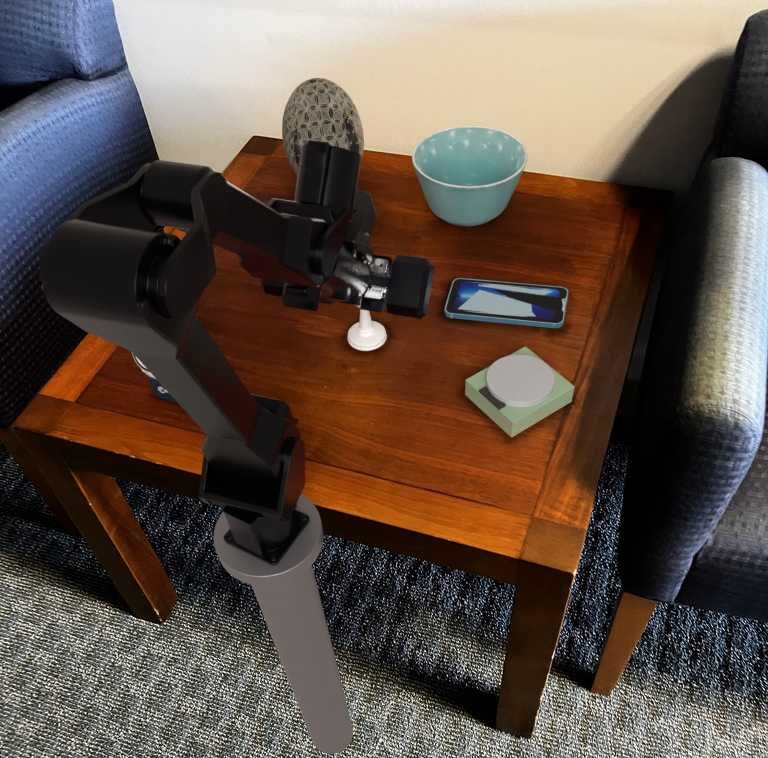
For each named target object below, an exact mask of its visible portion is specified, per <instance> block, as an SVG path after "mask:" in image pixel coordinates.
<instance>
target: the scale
mask: <svg viewBox="0 0 768 758" xmlns="http://www.w3.org/2000/svg"><path fill="white" fill-rule="evenodd" d="M574 392H575V385H574V384H572V383H571V381H569V380H567V379H566V378H565V377H564V376H563V375H561V374H560V373H559V372H558V371H556V369H554V367H551V366H550V365H549V364H548V363H547V362H546V361H544V360H543V359H542V358H540V357H539V356H538V355H537V354H536V353H534V352H533V351H532V350H531V349H530V348H529V347H527V346H523V347H521V348H520V349H518V350H516V351H514V352H513V353H510V354H509V355H506V356H503V357H501V358H498V359H497V360H495V361H494V362H492V363H491V365H489V366H487V367H486V368H484V369H482V370H479V372H476V373H475V374H473V375H472V376H470V377H468V378H466V379H465V383H464V395H465V396H466V397H467V398H468V400H470V401H471V402H472V403H473V404H474V405H475V406H476V407H477V408H479V410H480V411H481V412H483V413H484V414H485V415H486V416H487V417H488V418H489V419H490V420H491V421H493V422H494V423H495V424H496V425H497V426H498V427H499V428H501V430H503V431H504V433H506V434H507V435H508V436H509V437H510V438H514V437H516V436H517V435H518V434H521V433H522V432H523V431H525V430H526V429H529V428H530V427H532V426H534V425H536V424H537V423H538V422H540V421H542V420H543V419H545V418H547V417H548V416H550V415H552V414H553V413H555V412H557V411H558V410H560V409H562V408H564V407H565V406H567V405H569V404H570V403H572V402H573V398H574V397H573V396H574Z"/></svg>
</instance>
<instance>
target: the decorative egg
mask: <svg viewBox="0 0 768 758" xmlns="http://www.w3.org/2000/svg"><path fill="white" fill-rule="evenodd" d="M281 137H282V145H283V150H284V153H285V156H286V160H287V161H288V164H289V165H290V167H291V169H292V170H293V172H294V174H295V175H296V176H298V169H299V162H300V155H301V149H302V146H303V145H304V144H308V141H309V140H315V141H323V142H329V143H330V144H331V145H332V146H336V147H340V148H343V149H346V150H349V151H352V152H358V153H360V154H361V156H362V157H363V155H364V151H365V136H364V128H363V123H362V119H361V116H360V114H359V111H358V109H357V106H356V104H355V103H354V101H353V99H352V98H351V96H350V95H349V94H348V92H347V91H345V90H344V88H343V87H341V86H340V85H339V84H337V83H335V82H334V81H332V80H330V79H327V78H324V77H312V78H309V79H306V80H304V81H303V82H301V83H299V84H298V85H297V86H296V87H295V88H294V90H293V91H292V92H291V95H290V96H289V98H288V100H287V102H286V104H285V106H284V110H283V114H282V123H281Z"/></svg>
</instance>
